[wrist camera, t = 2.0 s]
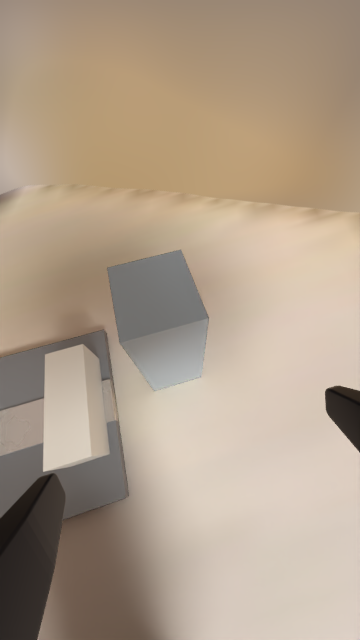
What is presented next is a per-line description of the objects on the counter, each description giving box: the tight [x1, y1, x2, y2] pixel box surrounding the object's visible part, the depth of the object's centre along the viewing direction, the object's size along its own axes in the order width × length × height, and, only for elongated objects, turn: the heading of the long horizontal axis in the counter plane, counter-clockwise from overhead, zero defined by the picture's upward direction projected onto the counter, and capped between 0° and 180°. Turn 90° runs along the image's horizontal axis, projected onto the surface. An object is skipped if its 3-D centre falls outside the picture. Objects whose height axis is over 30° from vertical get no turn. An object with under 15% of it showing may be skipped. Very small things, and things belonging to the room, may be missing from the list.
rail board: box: [0, 330, 129, 520], centre depth 17 cm, size 14×15×4 cm
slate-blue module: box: [107, 250, 209, 391], centre depth 17 cm, size 5×4×11 cm
